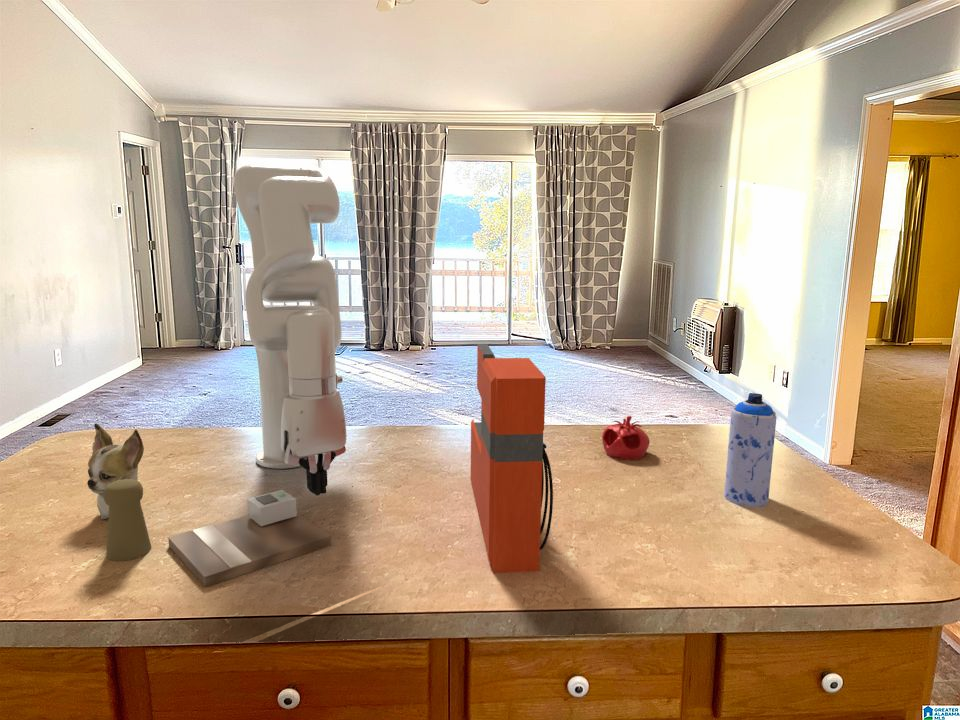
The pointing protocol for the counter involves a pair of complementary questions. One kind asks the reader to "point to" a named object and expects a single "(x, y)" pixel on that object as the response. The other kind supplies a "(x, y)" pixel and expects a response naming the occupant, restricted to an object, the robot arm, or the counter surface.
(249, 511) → the white box with button
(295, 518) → the board
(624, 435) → the pomegranate
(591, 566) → the counter surface
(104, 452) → the ceramic sculpture
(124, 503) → the olive pawn figure
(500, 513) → the toy gas pump
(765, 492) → the aerosol can
